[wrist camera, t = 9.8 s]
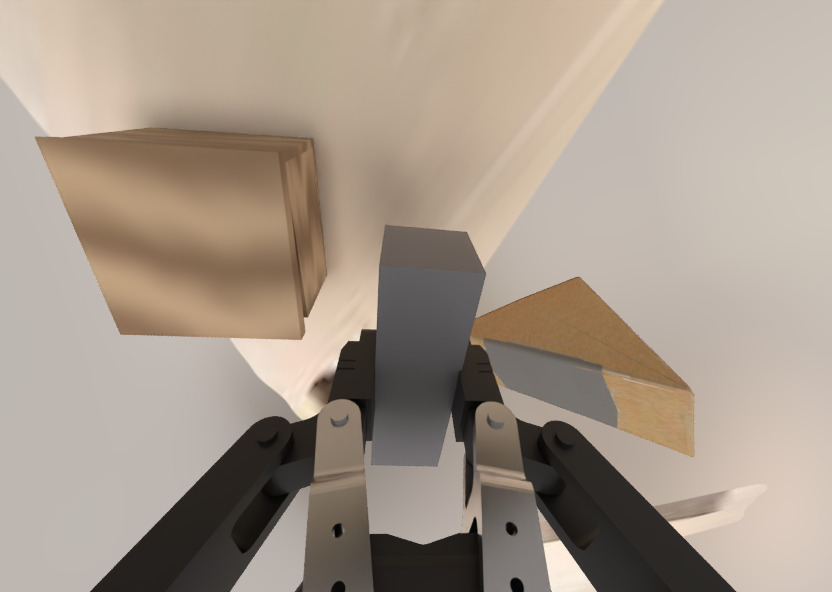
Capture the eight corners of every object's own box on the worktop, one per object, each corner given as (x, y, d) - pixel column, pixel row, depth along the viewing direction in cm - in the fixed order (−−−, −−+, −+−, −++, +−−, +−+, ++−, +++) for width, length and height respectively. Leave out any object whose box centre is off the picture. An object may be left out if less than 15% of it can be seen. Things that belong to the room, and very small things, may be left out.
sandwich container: (442, 330, 35) (463, 462, 22) (578, 273, 31) (696, 391, 19) (470, 377, 39) (502, 510, 26) (594, 331, 35) (698, 459, 23)
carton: (150, 127, 23) (63, 137, 17) (312, 138, 24) (282, 151, 18) (199, 269, 30) (148, 312, 24) (326, 275, 30) (307, 317, 24)
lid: (54, 136, 17) (34, 136, 16) (284, 152, 18) (277, 152, 17) (131, 326, 22) (120, 334, 22) (305, 332, 23) (301, 339, 22)
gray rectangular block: (385, 225, 11) (379, 265, 8) (466, 232, 11) (486, 273, 9) (376, 405, 16) (371, 464, 14) (432, 407, 17) (437, 466, 14)
